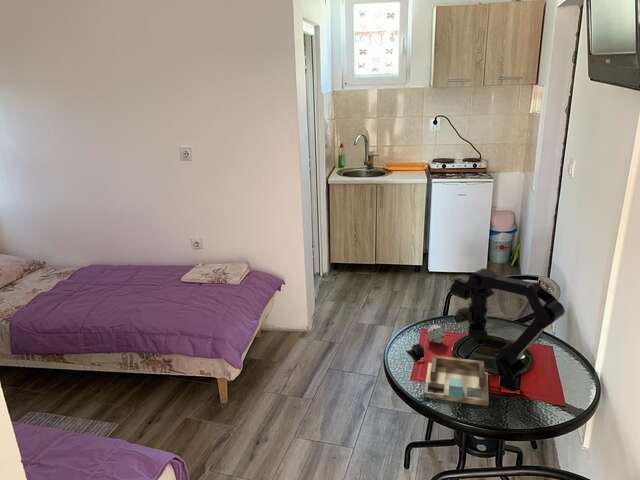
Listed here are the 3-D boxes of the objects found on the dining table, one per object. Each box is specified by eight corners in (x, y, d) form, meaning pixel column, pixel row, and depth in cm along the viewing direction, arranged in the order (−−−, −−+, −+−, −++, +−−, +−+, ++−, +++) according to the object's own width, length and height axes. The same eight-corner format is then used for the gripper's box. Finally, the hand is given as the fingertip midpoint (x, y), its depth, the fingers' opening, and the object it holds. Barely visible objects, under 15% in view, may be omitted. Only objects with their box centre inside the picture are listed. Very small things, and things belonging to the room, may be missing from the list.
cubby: (483, 369, 181) (483, 361, 180) (483, 386, 172) (484, 378, 171) (432, 363, 186) (432, 355, 185) (430, 379, 177) (430, 371, 176)
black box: (434, 363, 191) (434, 352, 190) (417, 367, 189) (418, 357, 187) (417, 346, 202) (417, 336, 200) (401, 351, 200) (401, 341, 198)
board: (487, 374, 182) (487, 369, 181) (488, 406, 165) (488, 400, 165) (428, 367, 187) (428, 362, 187) (423, 397, 171) (424, 391, 171)
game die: (439, 349, 206) (455, 331, 203) (433, 352, 198) (449, 334, 195) (423, 333, 209) (439, 316, 206) (416, 335, 202) (432, 318, 199)
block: (462, 390, 170) (463, 379, 169) (462, 398, 166) (463, 387, 165) (449, 388, 172) (449, 377, 170) (448, 396, 168) (449, 385, 166)
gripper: (455, 290, 186) (454, 327, 191) (454, 314, 169) (452, 353, 174) (487, 293, 182) (484, 330, 188) (488, 317, 166) (485, 357, 171)
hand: (476, 342), depth 180 cm, fingers closed
